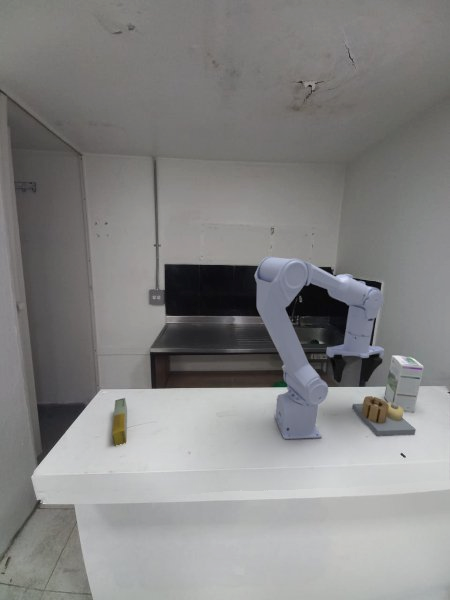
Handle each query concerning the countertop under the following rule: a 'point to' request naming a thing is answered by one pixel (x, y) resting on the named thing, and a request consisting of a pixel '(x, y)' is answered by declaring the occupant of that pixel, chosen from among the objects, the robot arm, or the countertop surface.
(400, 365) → the syrup box
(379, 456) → the countertop surface
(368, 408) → the brown segmented ring
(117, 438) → the medication box
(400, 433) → the carrier plate
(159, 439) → the countertop surface
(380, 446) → the countertop surface
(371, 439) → the countertop surface
